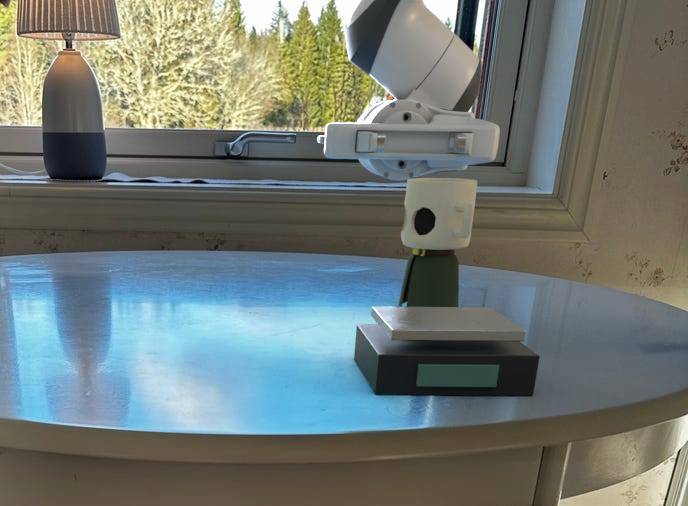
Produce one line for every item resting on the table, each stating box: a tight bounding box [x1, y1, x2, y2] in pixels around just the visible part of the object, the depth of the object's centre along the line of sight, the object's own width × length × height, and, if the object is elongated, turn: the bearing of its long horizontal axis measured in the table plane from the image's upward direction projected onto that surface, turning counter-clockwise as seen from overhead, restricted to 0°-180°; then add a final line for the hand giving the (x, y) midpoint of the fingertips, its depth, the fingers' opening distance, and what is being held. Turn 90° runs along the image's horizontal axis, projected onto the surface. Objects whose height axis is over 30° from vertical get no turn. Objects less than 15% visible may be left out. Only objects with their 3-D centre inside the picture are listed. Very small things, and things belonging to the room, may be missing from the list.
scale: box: [353, 323, 541, 397], centre depth 77 cm, size 12×12×3 cm
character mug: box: [397, 177, 478, 307], centre depth 100 cm, size 11×7×13 cm, turn 23°
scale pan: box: [370, 305, 527, 343], centre depth 75 cm, size 10×10×1 cm
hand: (421, 143), depth 106 cm, fingers open, 8 cm apart
